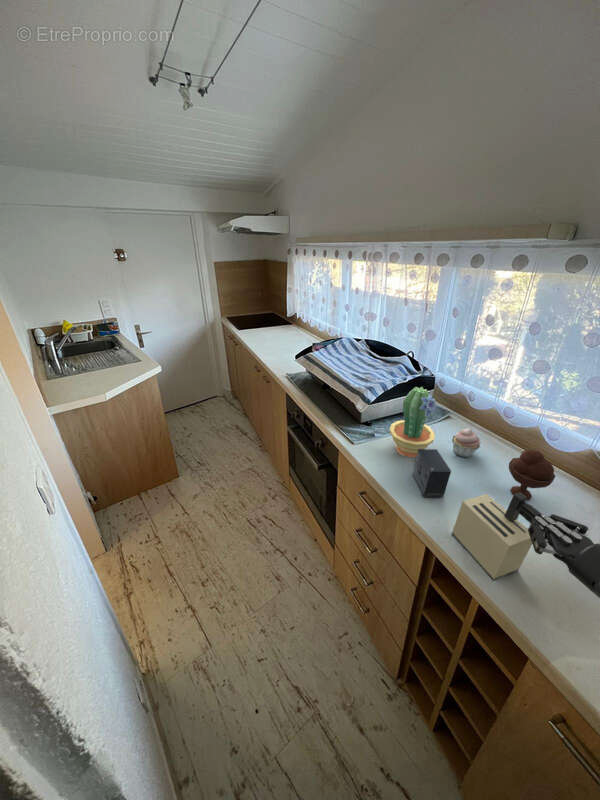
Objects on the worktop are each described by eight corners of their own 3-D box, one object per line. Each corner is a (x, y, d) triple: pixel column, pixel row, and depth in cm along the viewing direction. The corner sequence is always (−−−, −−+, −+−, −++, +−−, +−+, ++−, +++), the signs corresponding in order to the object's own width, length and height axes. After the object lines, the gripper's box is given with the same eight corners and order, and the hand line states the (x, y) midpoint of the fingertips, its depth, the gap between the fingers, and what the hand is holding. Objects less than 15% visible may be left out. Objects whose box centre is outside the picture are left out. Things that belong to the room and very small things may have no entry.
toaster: (474, 526, 82) (486, 493, 76) (518, 570, 71) (536, 536, 65) (451, 534, 80) (462, 500, 74) (493, 580, 69) (509, 546, 63)
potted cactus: (389, 461, 106) (399, 398, 94) (384, 435, 120) (393, 377, 108) (435, 465, 104) (452, 400, 92) (425, 438, 118) (439, 379, 106)
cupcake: (480, 462, 105) (488, 438, 100) (451, 458, 107) (457, 434, 102) (474, 446, 113) (481, 423, 108) (447, 442, 115) (453, 420, 110)
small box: (445, 498, 91) (453, 471, 86) (423, 498, 91) (430, 471, 86) (431, 473, 100) (437, 448, 95) (411, 474, 100) (417, 448, 95)
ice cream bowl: (494, 493, 92) (510, 453, 85) (507, 475, 99) (523, 438, 92) (535, 513, 85) (556, 472, 78) (546, 493, 92) (567, 454, 85)
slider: (510, 514, 70) (520, 492, 67) (516, 519, 69) (527, 497, 66) (503, 516, 70) (513, 494, 66) (510, 522, 68) (520, 499, 65)
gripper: (650, 555, 52) (548, 485, 66) (596, 580, 48) (502, 500, 63) (628, 581, 56) (536, 510, 70) (576, 606, 52) (491, 525, 66)
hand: (520, 505), depth 66 cm, fingers closed
